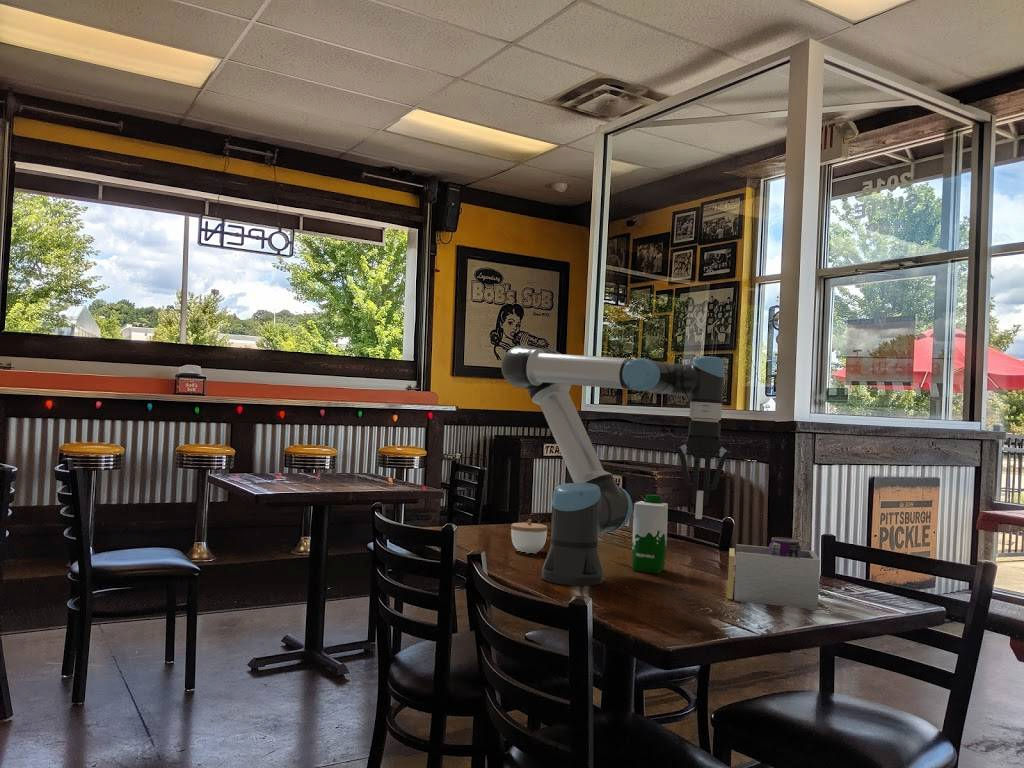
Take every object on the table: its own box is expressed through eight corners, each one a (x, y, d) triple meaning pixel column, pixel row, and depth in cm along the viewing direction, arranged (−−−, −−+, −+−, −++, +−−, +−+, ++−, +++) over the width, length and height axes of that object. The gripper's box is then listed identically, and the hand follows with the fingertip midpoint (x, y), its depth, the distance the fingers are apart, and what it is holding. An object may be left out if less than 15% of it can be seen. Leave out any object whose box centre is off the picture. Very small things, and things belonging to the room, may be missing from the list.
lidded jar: (507, 548, 242) (509, 516, 243) (543, 549, 243) (544, 518, 244) (511, 554, 232) (513, 521, 232) (548, 555, 233) (550, 522, 233)
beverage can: (801, 595, 185) (803, 542, 185) (769, 592, 186) (771, 540, 187) (797, 589, 192) (799, 538, 192) (765, 586, 193) (767, 536, 194)
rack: (727, 598, 186) (729, 556, 186) (727, 587, 199) (729, 548, 199) (810, 607, 181) (812, 564, 181) (805, 595, 194) (807, 555, 194)
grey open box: (734, 600, 185) (736, 552, 186) (734, 589, 198) (736, 544, 199) (817, 609, 180) (819, 560, 181) (812, 597, 194) (814, 551, 194)
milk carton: (667, 569, 221) (670, 495, 221) (660, 574, 212) (664, 498, 213) (635, 565, 224) (639, 493, 225) (628, 570, 216) (631, 495, 216)
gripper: (676, 418, 194) (669, 517, 193) (732, 422, 190) (726, 523, 190) (678, 418, 201) (672, 513, 200) (732, 422, 198) (726, 519, 197)
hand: (698, 518), depth 195 cm, fingers closed
